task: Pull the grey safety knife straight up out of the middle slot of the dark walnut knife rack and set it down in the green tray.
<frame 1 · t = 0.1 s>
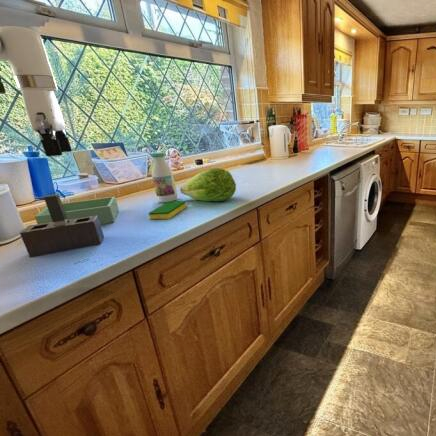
hand: (60, 153, 82), 25 cm above the countertop, tool pointing down, fingers open, 9 cm apart
green tray: (83, 221, 106), on the countertop
knife: (60, 221, 83), in the knife rack
knife rack: (69, 246, 86), on the countertop
dish sponge: (169, 213, 112), on the countertop
lettuce: (208, 200, 127), on the countertop
milk bottle: (168, 200, 129), on the countertop
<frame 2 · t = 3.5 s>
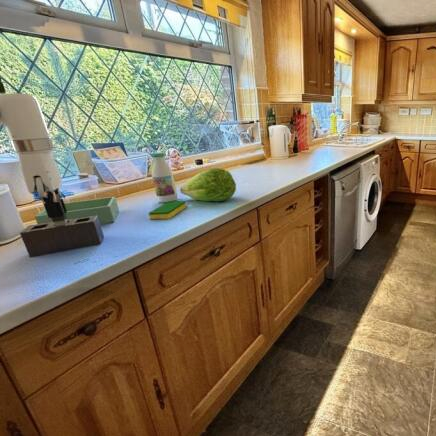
hand: (58, 214, 82), 10 cm above the countertop, tool pointing down, fingers closed on knife, 2 cm apart
knife: (60, 221, 83), in the knife rack, touching gripper
everything else where it was.
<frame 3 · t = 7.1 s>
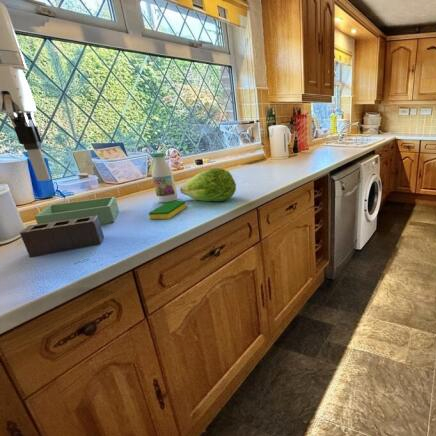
hand: (31, 142, 76), 29 cm above the countertop, tool pointing down, fingers closed on knife, 2 cm apart
knife: (34, 151, 76), point 27 cm above the countertop, touching gripper
everything else where it was.
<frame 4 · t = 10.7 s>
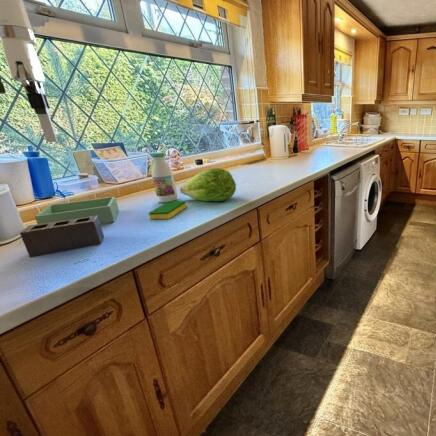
hand: (40, 108, 88), 37 cm above the countertop, tool pointing down, fingers closed on knife, 2 cm apart
knife: (43, 115, 89), point 35 cm above the countertop, touching gripper
everything else where it was.
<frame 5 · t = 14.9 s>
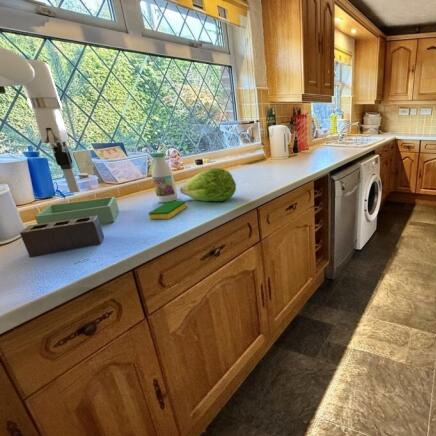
hand: (65, 164, 99), 20 cm above the countertop, tool pointing down, fingers closed on knife, 2 cm apart
knife: (67, 170, 100), point 18 cm above the countertop, touching gripper
everything else where it was.
when the fingers open (10 cm above the countertop, at t = 17.9 s): knife stays where it is, resting on green tray.
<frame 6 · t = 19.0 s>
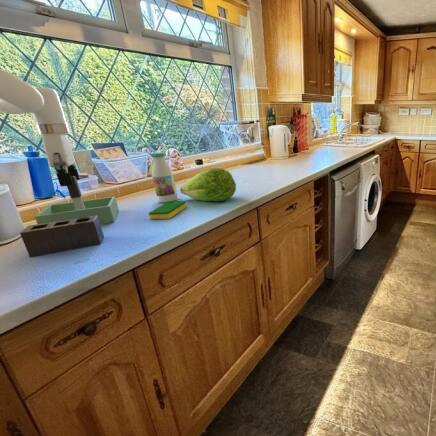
hand: (70, 182, 101), 14 cm above the countertop, tool pointing down, fingers open, 9 cm apart
knife: (76, 198, 103), in the green tray, point 8 cm above the countertop
everything else where it was.
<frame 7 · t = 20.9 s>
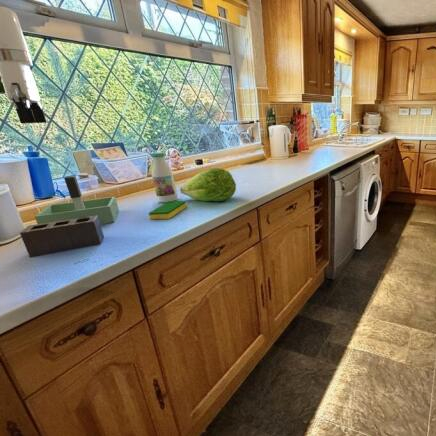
hand: (34, 122, 90), 33 cm above the countertop, tool pointing down, fingers open, 9 cm apart
nothing on the countertop moved.
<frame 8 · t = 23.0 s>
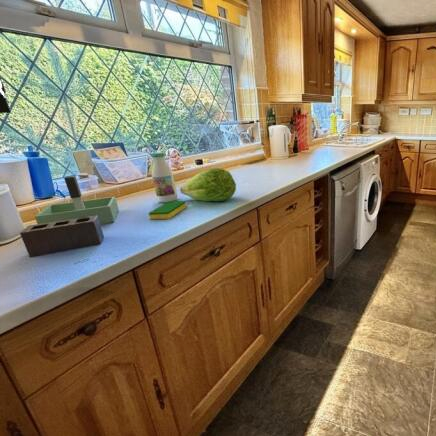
nothing on the countertop moved.
at the end: knife inside the target area in the green tray (0.1 cm from its centre), point 8.3 cm above the green tray's base; the gripper is holding nothing; knife moved 25.1 cm from its start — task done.
